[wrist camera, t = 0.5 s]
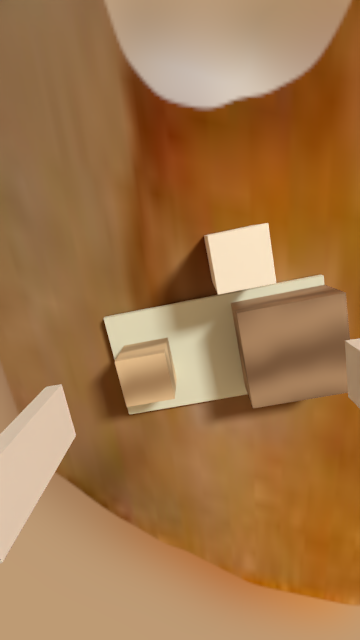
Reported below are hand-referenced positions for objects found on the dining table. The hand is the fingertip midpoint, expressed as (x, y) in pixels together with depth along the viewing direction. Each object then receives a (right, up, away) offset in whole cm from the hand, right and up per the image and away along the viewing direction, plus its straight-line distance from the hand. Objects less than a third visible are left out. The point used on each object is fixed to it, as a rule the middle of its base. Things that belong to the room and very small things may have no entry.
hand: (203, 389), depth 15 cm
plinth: (+10, +1, +22) cm, 24 cm away
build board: (+3, 0, +23) cm, 23 cm away
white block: (+4, +10, +20) cm, 23 cm away
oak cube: (-4, -2, +23) cm, 23 cm away
